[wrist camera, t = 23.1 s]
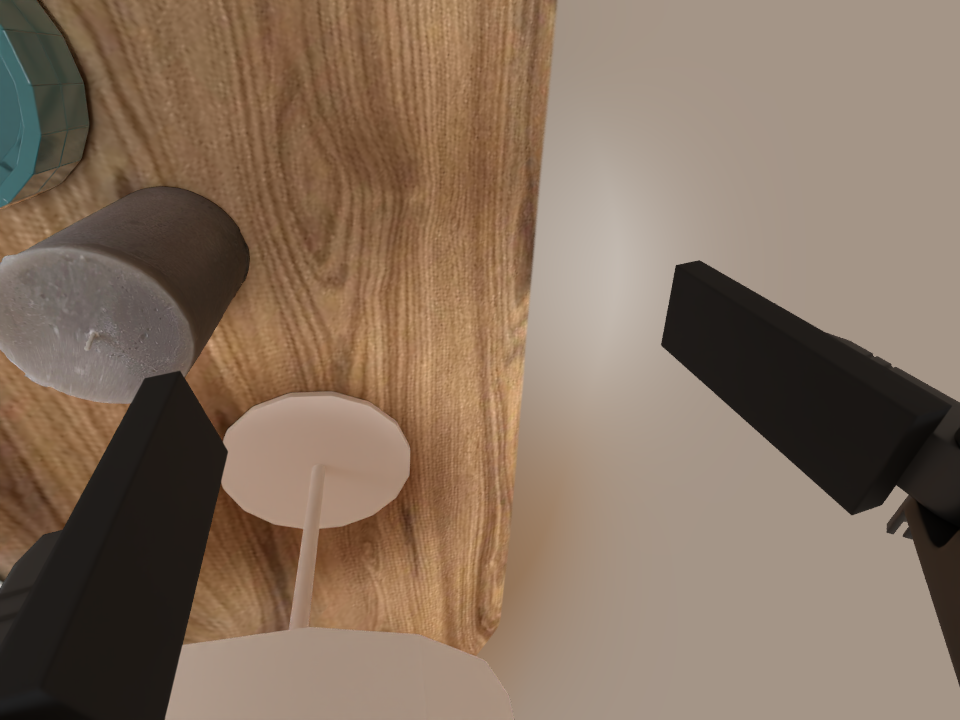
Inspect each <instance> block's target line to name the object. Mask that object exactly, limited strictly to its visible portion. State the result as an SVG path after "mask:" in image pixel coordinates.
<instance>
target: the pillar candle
mask: <svg viewBox="0 0 960 720" xmlns="http://www.w3.org/2000/svg"><path fill="white" fill-rule="evenodd" d="M248 268H249V252H248V246H247V244H246V243H245V242H244V239H243V237H242V235H241V233H240V230H239V228H238V226H237V225H236V224H235V223H234V222H233V220H232V219H231V218H230V217H229V216H228V215H227V214H226V213H225V212H224V211H223V210H222V209H220V208H219V207H218V206H217V205H215V204H214V203H212V202H210V201H209V200H207V199H206V198H204V197H202V196H200V195H198V194H195V193H193V192H190V191H188V190H183V189H180V188H173V187H152V188H146V189H141V190H138V191H135V192H133V193H131V194H129V195H127V196H125V197H123V198H122V199H120V200H118V201H116V202H114V203H112V204H110V205H108V206H106V207H104V208H102V209H101V210H99V211H97V212H95V213H93V214H91V215H89V216H88V217H86V218H84V219H82V220H80V221H78V222H76V223H74V224H73V225H71V226H69V227H67V228H65V229H63V230H61V231H60V232H58V233H56V234H54V235H52V236H50V237H48V238H47V239H45V240H43V241H41V242H39V243H37V244H36V245H34V246H32V247H30V248H29V249H27V250H25V251H23V252H21V253H19V254H17V255H8V256H5V257H4V258H3V259H2V262H1V263H0V349H1V351H2V352H3V353H4V354H5V355H6V356H7V358H8V359H9V360H10V361H11V362H13V363H14V364H15V365H16V366H17V367H19V368H20V369H21V370H22V371H23V372H25V374H26V375H25V376H26V377H28V378H30V379H31V380H32V381H33V382H36V383H37V384H39V385H42V386H45V387H48V386H49V387H52V388H54V389H56V390H58V391H60V392H64V393H66V394H68V395H71V396H75V397H78V398H82V399H86V400H91V401H95V402H103V403H122V404H128V403H132V401H133V399H134V397H135V395H136V393H137V391H138V390H139V388H140V386H141V384H142V382H143V380H144V378H148V377H153V376H157V375H162V374H167V373H171V372H176V371H181V373H182V374H183V376H184V378H185V376H186V375H187V373H188V372H189V371H190V369H191V367H192V366H193V364H194V363H195V361H196V360H197V358H198V357H199V355H200V354H201V352H202V350H203V348H204V347H205V345H206V344H207V342H208V340H209V339H210V337H211V335H212V333H213V332H214V330H215V328H216V327H217V325H218V323H219V322H220V320H221V318H222V316H223V314H224V312H225V311H226V309H227V307H228V306H229V304H230V302H231V300H232V299H233V297H235V295H236V292H237V291H238V290H239V288H240V287H241V285H242V284H241V283H243V282H244V281H245V279H246V276H247V273H248Z"/></svg>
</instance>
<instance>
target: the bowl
mask: <svg viewBox="0 0 960 720" xmlns="http://www.w3.org/2000/svg"><path fill="white" fill-rule="evenodd" d="M83 83H84V82H83V80H82V77H81V75H80V73H79V71H78V68H77V66H76V64H75V62H74V59H73V57H72V55H71V53H70V50H69V48H68V46H67V44H66V41H65V39H64V37H63V36H62V34H61V32H60V31H59V30H58V28H57V27H56V26H55V24H54V23H53V22H52V20H51V19H50V18H49V16H48V15H47V14H46V12H45V11H44V10H43V8H42V7H41V6H40V4H39V3H38V2H37V0H0V210H1V209H4V208H6V207H9V206H12V205H14V204H17V203H19V202H22V201H25V200H27V199H30V198H32V197H34V196H36V195H39V194H41V193H43V192H45V191H47V190H50V189H52V188H54V187H56V186H58V185H59V184H61V183H62V182H63V181H64V179H65V178H66V177H67V176H68V175H69V173H70V172H71V171H72V170H73V169H74V168H75V166H76V165H77V164H78V163H79V162H80V159H81V158H82V154H83V150H84V146H85V142H86V138H87V134H88V130H89V117H88V110H87V102H86V95H85V88H84V84H83Z"/></svg>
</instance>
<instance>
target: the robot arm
mask: <svg viewBox="0 0 960 720" xmlns="http://www.w3.org/2000/svg"><path fill="white" fill-rule="evenodd" d="M661 345H662V347H664V348H665V349H666V350H667V351H668V352H669V353H671V355H673V356H674V357H675V358H676V359H677V360H678V361H679V362H681V363H682V364H683V365H684V366H685V367H686V368H687V369H688V370H689V371H690V372H692V373H693V374H694V375H695V376H696V377H697V378H698V379H699V380H701V381H702V382H703V383H704V384H705V385H706V386H707V387H708V388H710V389H711V390H712V391H713V392H714V393H715V394H716V395H717V396H719V397H720V398H721V399H722V400H723V401H724V402H725V403H726V404H728V405H729V406H730V407H731V408H732V409H733V410H734V411H735V412H736V413H738V414H739V415H740V416H741V417H742V418H743V419H744V420H746V421H747V422H748V423H749V424H750V425H751V426H752V427H753V428H754V429H755V430H757V431H758V432H759V433H760V434H761V435H762V436H763V437H765V438H766V439H767V440H768V441H769V442H770V443H771V444H772V445H773V446H775V447H776V448H777V449H778V450H779V451H780V452H781V453H783V454H784V455H785V456H786V457H787V458H788V459H789V460H790V461H791V462H792V463H794V464H795V465H796V466H797V467H798V468H799V469H800V470H802V471H803V472H804V473H805V474H806V475H807V476H808V477H809V478H810V479H812V480H813V481H814V482H815V483H816V484H817V485H818V486H819V487H821V488H822V489H823V490H824V491H825V492H826V493H827V494H828V495H829V496H831V497H832V498H833V499H834V500H835V501H836V502H837V503H839V504H840V505H841V506H842V507H843V508H844V509H845V510H846V511H847V512H848V513H850V514H851V515H854V514H857V513H860V512H863V511H866V510H869V509H872V508H874V507H877V506H880V505H882V504H883V503H884V501H885V500H886V499H887V497H888V496H889V494H890V493H891V492H892V490H893V489H894V487H895V486H896V485H897V486H898V487H900V488H901V489H902V490H903V491H905V492H906V493H907V494H909V495H908V497H907V498H906V499H905V501H904V502H903V503H902V505H901V506H900V507H899V509H898V510H897V511H896V513H895V514H894V515H893V517H892V518H891V519H890V521H889V522H888V523H887V533H891V534H894V533H895V532H896V530H897V529H898V528H899V526H900V525H901V524H902V523H903V522H908V525H909V527H908V528H907V530H906V531H905V533H904V534H903V537H905V538H910V539H913V541H914V544H915V547H916V551H917V554H918V557H919V560H920V563H921V566H922V569H923V573H924V575H925V579H926V582H927V585H928V588H929V591H930V595H931V598H932V601H933V604H934V607H935V610H936V613H937V617H938V620H939V623H940V626H941V629H942V632H943V635H944V639H945V642H946V645H947V648H948V651H949V654H950V657H951V660H952V663H953V667H954V670H955V673H956V676H957V679H958V682H959V686H960V402H958V401H956V400H954V399H952V398H950V397H949V396H947V395H945V394H943V393H941V392H940V391H938V390H936V389H935V388H933V387H931V386H929V385H928V384H926V383H924V382H922V381H920V380H919V379H917V378H915V377H913V376H911V375H910V374H908V373H906V372H904V371H903V370H901V369H899V368H897V367H894V368H893V367H892V366H891V364H890V363H888V362H887V361H885V360H883V359H881V358H880V357H874V356H873V354H872V353H871V352H869V351H867V350H865V349H863V348H862V347H860V346H858V345H857V344H854V343H853V342H851V341H848V340H846V339H843V338H840V337H837V336H834V335H831V334H828V333H825V332H823V331H822V330H820V329H818V328H816V327H814V326H813V325H811V324H809V323H808V322H806V321H804V320H802V319H801V318H799V317H797V316H795V315H794V314H792V313H790V312H789V311H787V310H785V309H783V308H782V307H780V306H778V305H776V304H775V303H773V302H771V301H769V300H768V299H766V298H764V297H762V296H761V295H759V294H757V293H755V292H754V291H752V290H750V289H749V288H747V287H745V286H743V285H741V284H740V283H738V282H736V281H735V280H733V279H731V278H729V277H728V276H726V275H724V274H722V273H721V272H719V271H717V270H715V269H714V268H712V267H710V266H708V265H707V264H705V263H703V262H702V261H694V262H689V263H685V264H680V265H676V268H675V273H674V278H673V284H672V290H671V295H670V300H669V305H668V311H667V316H666V322H665V327H664V332H663V338H662V343H661ZM227 455H228V450H227V448H226V447H225V445H224V443H223V442H222V440H221V438H220V437H219V435H218V433H217V432H216V430H215V428H214V427H213V425H212V423H211V422H210V420H209V418H208V417H207V415H206V413H205V411H204V410H203V408H202V406H201V405H200V403H199V401H198V400H197V398H196V396H195V395H194V393H193V391H192V390H191V388H190V386H189V385H188V383H187V381H186V380H185V378H184V376H183V374H182V373H181V371H176V372H171V373H167V374H162V375H157V376H153V377H148V378H144V380H143V382H142V384H141V386H140V388H139V390H138V391H137V393H136V395H135V397H134V399H133V401H132V403H131V404H130V406H129V408H128V410H127V412H126V414H125V416H124V417H123V419H122V421H121V423H120V425H119V427H118V428H117V430H116V432H115V434H114V436H113V438H112V440H111V441H110V443H109V445H108V447H107V449H106V451H105V453H104V454H103V456H102V458H101V460H100V462H99V464H98V466H97V467H96V469H95V471H94V473H93V475H92V477H91V478H90V480H89V482H88V484H87V486H86V488H85V490H84V491H83V493H82V495H81V497H80V499H79V501H78V503H77V504H76V506H75V508H74V510H73V512H72V514H71V516H70V517H69V519H68V521H67V523H66V525H65V527H64V528H63V530H60V531H56V532H52V533H48V534H45V535H43V536H42V537H41V538H40V539H39V540H38V541H37V542H36V543H35V544H34V545H33V546H32V547H31V548H30V549H29V550H28V551H27V552H26V553H25V554H24V555H23V556H22V557H21V558H20V559H19V560H18V561H17V562H16V563H15V564H14V566H13V568H12V569H11V571H10V573H9V574H8V576H7V578H6V579H5V581H4V583H3V584H2V586H1V588H0V720H165V716H166V712H167V708H168V704H169V700H170V695H171V691H172V687H173V683H174V678H175V674H176V670H177V666H178V662H179V657H180V653H181V649H182V645H183V640H184V636H185V632H186V628H187V624H188V619H189V615H190V611H191V607H192V602H193V598H194V594H195V590H196V586H197V581H198V577H199V573H200V569H201V564H202V560H203V556H204V552H205V548H206V543H207V539H208V535H209V531H210V527H211V522H212V518H213V514H214V510H215V505H216V501H217V497H218V493H219V489H220V484H221V480H222V476H223V472H224V467H225V463H226V459H227Z"/></svg>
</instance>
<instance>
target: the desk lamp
mask: <svg viewBox="0 0 960 720" xmlns="http://www.w3.org/2000/svg"><path fill="white" fill-rule="evenodd" d="M223 443H224V445H225V447H226V448H227V450H228V455H227V459H226V463H225V467H224V472H223V476H222V480H221V483H222V486H223V489H224V490H225V491H226V492H227V493H228V494H229V495H230V496H231V497H232V499H233V500H234V501H235V502H236V503H237V504H238V505H239V506H240V507H241V508H242V509H243V510H244V511H246V512H248V513H250V514H253V515H255V516H257V517H259V518H261V519H263V520H266V521H268V522H270V523H272V524H274V525H281V526H287V527H294V528H300V529H303V536H302V543H301V550H300V557H299V564H298V570H297V577H296V584H295V591H294V598H293V605H292V612H291V619H290V626H289V630H285V631H278V632H271V633H264V634H257V635H250V636H243V637H236V638H229V639H222V640H215V641H208V642H201V643H194V644H187V645H182V649H181V653H180V657H179V662H178V666H177V670H176V674H175V678H174V683H173V687H172V691H171V695H170V700H169V704H168V708H167V712H166V716H165V720H514V715H513V711H512V706H511V702H510V697H509V694H508V693H507V691H506V690H505V688H504V687H503V685H502V684H501V683H500V681H499V679H498V678H497V677H496V675H495V673H494V672H493V670H492V669H491V668H490V666H489V665H488V663H487V662H486V660H484V659H481V658H479V657H476V656H473V655H471V654H468V653H466V652H463V651H461V650H458V649H455V648H453V647H450V646H448V645H445V644H443V643H440V642H438V641H435V640H432V639H430V638H427V637H425V636H422V635H420V634H406V633H391V632H376V631H361V630H346V629H331V628H316V627H308V626H309V617H310V608H311V599H312V590H313V581H314V572H315V563H316V553H317V544H318V535H319V529H321V528H331V527H342V526H345V525H348V524H351V523H353V522H356V521H359V520H361V519H364V518H367V517H370V516H372V515H374V514H375V513H377V512H378V511H379V510H381V509H382V508H383V507H384V506H386V505H387V504H388V503H390V502H391V501H392V500H394V499H395V498H396V497H397V495H398V494H399V492H400V490H401V489H402V487H403V485H404V483H405V482H406V480H407V478H408V477H409V475H410V445H409V443H408V441H407V439H406V438H405V436H404V434H403V432H402V430H401V428H400V427H399V425H398V423H397V421H396V420H394V419H393V418H391V417H390V416H389V415H387V414H386V413H385V412H383V411H382V410H380V409H379V408H378V407H376V406H375V405H373V404H372V403H371V402H369V401H365V400H362V399H358V398H355V397H351V396H347V395H344V394H340V393H337V392H333V391H324V392H294V393H288V394H285V395H283V396H280V397H277V398H274V399H272V400H269V401H266V402H263V403H261V404H258V405H255V406H253V407H252V408H251V409H249V410H248V411H247V412H246V413H245V414H244V415H243V416H242V417H241V418H239V419H238V420H237V421H236V422H235V423H234V424H233V425H232V426H231V427H229V428H228V429H227V432H226V434H225V437H224V440H223Z"/></svg>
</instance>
